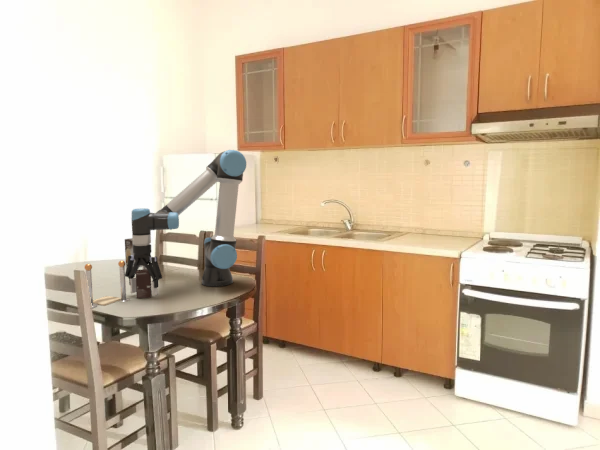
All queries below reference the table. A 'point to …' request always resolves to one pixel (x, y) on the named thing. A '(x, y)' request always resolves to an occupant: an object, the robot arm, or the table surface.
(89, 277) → the end post
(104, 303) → the pad
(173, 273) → the table surface
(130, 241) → the coffee box
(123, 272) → the corner post
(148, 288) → the box
